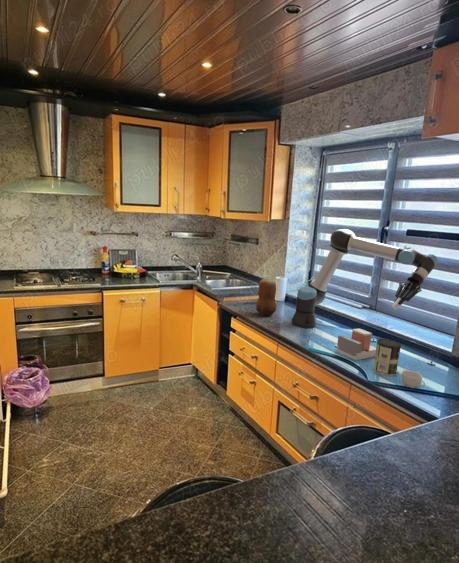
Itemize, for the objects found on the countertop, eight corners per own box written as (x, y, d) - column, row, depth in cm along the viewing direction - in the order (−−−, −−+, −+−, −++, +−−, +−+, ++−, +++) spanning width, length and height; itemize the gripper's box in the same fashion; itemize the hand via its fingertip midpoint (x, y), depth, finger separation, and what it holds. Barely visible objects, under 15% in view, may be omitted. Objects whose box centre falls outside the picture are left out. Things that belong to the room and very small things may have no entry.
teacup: (396, 383, 162) (398, 371, 161) (407, 380, 166) (409, 369, 165) (417, 393, 154) (419, 381, 153) (429, 390, 158) (431, 378, 157)
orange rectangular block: (356, 346, 201) (359, 328, 199) (369, 351, 194) (372, 333, 193) (349, 347, 199) (352, 329, 197) (362, 352, 192) (365, 334, 190)
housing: (364, 345, 209) (366, 331, 207) (384, 354, 198) (387, 338, 196) (336, 351, 197) (338, 335, 196) (356, 360, 186) (358, 343, 185)
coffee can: (393, 368, 179) (398, 340, 176) (398, 377, 169) (403, 347, 166) (371, 365, 181) (375, 337, 178) (374, 374, 171) (379, 344, 168)
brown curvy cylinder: (267, 312, 266) (270, 277, 262) (279, 317, 255) (282, 280, 251) (251, 313, 259) (254, 277, 255) (262, 318, 248) (266, 281, 244)
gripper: (430, 284, 206) (406, 315, 200) (409, 279, 217) (385, 309, 211) (426, 274, 202) (402, 306, 197) (404, 270, 213) (381, 300, 208)
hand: (393, 308), depth 204 cm, fingers closed
